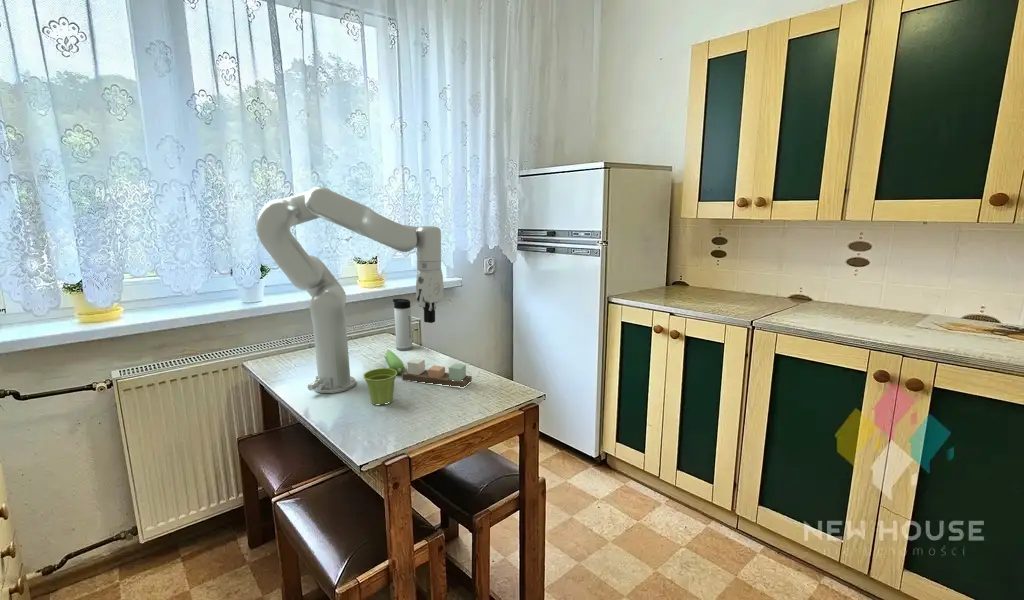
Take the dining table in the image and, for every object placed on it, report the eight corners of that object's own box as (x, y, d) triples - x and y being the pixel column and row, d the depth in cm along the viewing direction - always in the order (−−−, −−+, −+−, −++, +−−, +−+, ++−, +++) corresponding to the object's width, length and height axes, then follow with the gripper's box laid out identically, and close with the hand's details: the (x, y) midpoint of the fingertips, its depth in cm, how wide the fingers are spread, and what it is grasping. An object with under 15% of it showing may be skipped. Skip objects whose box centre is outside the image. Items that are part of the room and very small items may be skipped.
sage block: (460, 381, 153) (460, 369, 152) (449, 379, 155) (448, 367, 154) (466, 376, 157) (465, 364, 156) (454, 375, 158) (454, 363, 157)
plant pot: (382, 411, 137) (380, 382, 135) (358, 404, 142) (356, 376, 140) (405, 399, 145) (403, 371, 143) (381, 393, 150) (379, 366, 148)
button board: (463, 388, 152) (463, 382, 152) (402, 380, 160) (402, 374, 159) (471, 382, 158) (471, 376, 157) (412, 373, 165) (412, 368, 165)
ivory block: (418, 375, 158) (418, 363, 157) (407, 373, 160) (407, 362, 159) (424, 371, 162) (424, 359, 161) (414, 369, 163) (413, 358, 162)
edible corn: (389, 366, 161) (402, 360, 162) (380, 350, 179) (392, 345, 180) (395, 380, 162) (408, 374, 163) (385, 362, 180) (397, 357, 182)
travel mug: (394, 347, 193) (391, 298, 189) (410, 345, 196) (408, 296, 192) (397, 352, 188) (394, 301, 183) (414, 349, 190) (411, 299, 186)
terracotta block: (439, 382, 156) (439, 370, 155) (428, 381, 157) (427, 369, 157) (445, 378, 160) (444, 366, 159) (434, 376, 161) (434, 365, 160)
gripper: (426, 269, 146) (427, 328, 150) (451, 264, 160) (451, 318, 164) (405, 267, 149) (406, 326, 153) (431, 262, 163) (431, 315, 166)
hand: (429, 321), depth 158 cm, fingers closed
